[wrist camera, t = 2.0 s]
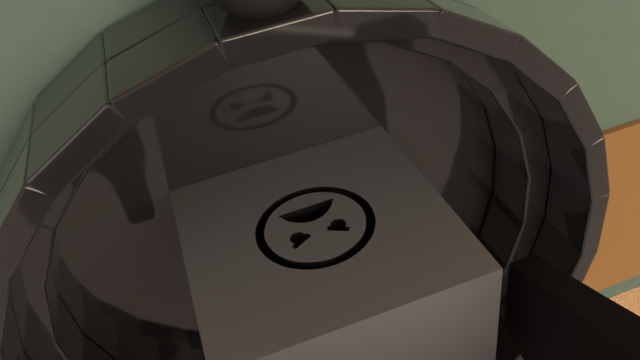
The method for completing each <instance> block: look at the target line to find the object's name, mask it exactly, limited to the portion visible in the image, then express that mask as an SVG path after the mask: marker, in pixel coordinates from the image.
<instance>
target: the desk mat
mask: <svg viewBox="0 0 640 360" xmlns="http://www.w3.org/2000/svg"><path fill="white" fill-rule="evenodd" d="M154 1H156V0H0V166H1V164H2V162H3V160H4V159H5V157H6V155H7V153H8V151H9V149H10V147H11V145H12V143H13V141H14V139H15V137H16V135H17V133H18V131H19V129H20V127H21V125H22V123H23V121H24V119H25V117H26V115H27V114H28V112H29V110H30V108H31V106H32V104H33V103H34V102H36V97H37V96H38V95H39V94H40V93H41V92H42V91H43V90H44V89H45V88H46V87H47V86H48V85H49V84H50V83H51V82H52V81H53V80H54V79H55V78H56V77H57V76H58V75H59V74H60V73H61V71H62V70H63V69H64V68H65V67H66V66H67V65H68V64H69V63H70V62H71V61H72V60H73V59H74V58H75V57H76V56H77V55H78V54H79V53H80V52H81V51H82V50H83V49H84V48H85V47H86V46H87V45H88V44H89V43H90V42H91V41H92V40H93V39H94V38H95V37H96V36H97V35H98V34H99V33H101V32H102V33H103V31H104V30H105V29H106V28H108V27H110V26H112V25H114V24H115V23H117V22H119V21H121V20H122V19H124V18H126V17H128V16H130V15H131V14H133V13H135V12H137V11H138V10H140V9H142V8H144V7H145V6H147V5H149V4H151V3H153V2H154ZM464 1H466V2H468V3H469V4H471V5H473V6H474V7H476V8H478V9H479V10H481V11H483V12H484V13H486V14H488V15H489V16H491V17H493V18H494V19H496V20H498V21H499V22H501V23H503V24H504V25H506V26H508V27H509V28H511V29H513V30H514V31H516V32H518V33H519V34H521V35H523V36H524V37H526V38H527V39H528V40H529V41H530V42H532V43H533V44H534V45H535V46H536V47H538V48H539V49H540V50H541V51H542V52H544V53H545V54H546V55H547V56H548V57H550V58H551V59H552V60H553V61H554V62H556V63H557V64H558V65H559V66H560V67H562V68H563V69H564V70H565V71H566V72H568V73H569V74H570V75H571V76H572V77H573V78H575V80H576V81H577V82H578V84H579V86H580V88H581V90H582V92H583V94H584V96H585V98H586V100H587V102H588V104H589V106H590V108H591V110H592V112H593V114H594V116H595V118H596V120H597V121H598V123H599V125H600V127H601V129H602V131H603V133H604V137H605V143H606V154H607V165H608V175H609V186H610V193H609V194H610V196H609V201H608V206H607V210H606V215H605V220H604V225H603V229H602V234H601V239H600V243H599V248H598V251H597V253H596V255H595V257H594V259H593V262H592V264H591V266H590V268H589V270H588V272H587V274H586V276H585V278H584V280H583V283H584V284H586V285H587V286H589V287H591V288H592V289H594V290H595V291H597V292H599V293H600V294H602V295H604V296H605V297H607V298H611V297H613V296H616V295H618V294H621V293H623V292H626V291H628V290H631V289H633V288H636V287H638V286H640V0H464Z"/></svg>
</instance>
